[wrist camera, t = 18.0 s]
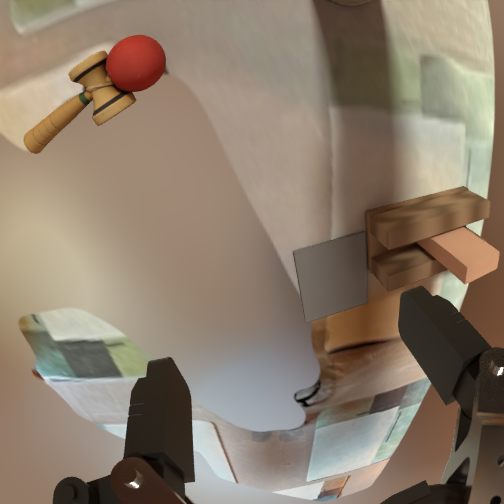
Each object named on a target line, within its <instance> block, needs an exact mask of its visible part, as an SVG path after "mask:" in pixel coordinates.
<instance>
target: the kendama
mask: <svg viewBox="0 0 504 504" xmlns="http://www.w3.org/2000/svg"><path fill="white" fill-rule="evenodd" d="M165 65H166V57H165V53H164V50H163V48H162V46H161V45H160V44H159V43H158V42H157V41H156V40H154V39H153V38H150V37H148V36H144V35H134V36H130V37H127V38H125V39H123V40H121V41H120V42H118V43H117V44H116V45H115V46H114V47H113V48H112V50H111V51H110V53H109V55H108V54H107V53H106V52H105V51H100V52H98V53H96V54H94V55H92V56H90V57H88V58H87V59H85V60H84V61H83V62H81V63H80V64H78V65H77V66H76V67H74V68H73V69H72V70H71V71H70V72H69V77H70V79H71V81H73V82H76V83H80V84H82V85H84V86H85V87H86V89H85V91H84V92H82V93H80V94H79V95H77V96H76V97H74V98H72V99H71V100H69V101H67V102H66V103H64V104H63V105H62V106H60V107H59V108H57V109H56V110H55V111H54V112H52V113H51V114H50V115H49V116H47V117H46V118H45V119H44V120H42V121H41V122H40V123H39V124H37V125H36V126H35V127H34V128H32V129H31V130H30V131H29V132H27V133H26V134H25V136H24V144H25V146H26V148H27V149H28V150H29V151H30V152H32V153H35V154H37V153H39V152H41V150H42V149H43V148H44V147H45V146H46V145H47V144H48V143H49V142H50V141H51V140H52V139H53V138H54V137H55V136H56V135H57V134H58V133H59V132H60V131H61V130H62V129H63V128H64V127H65V126H66V125H68V124H69V123H70V122H71V121H72V120H73V119H74V118H75V117H76V116H77V115H78V114H79V113H80V112H81V111H82V110H83V109H84V108H85V107H86V106H87V105H88V104H89V103H90V102H91V101H92V100H93V101H94V113H93V117H92V118H93V120H94V121H95V123H96V124H97V125H98V126H99V125H101V124H103V123H105V122H106V121H108V120H109V119H111V118H112V117H114V116H115V115H117V114H118V113H120V112H121V111H123V110H124V109H126V108H127V107H129V106H130V105H131V104H133V103H134V102H135V101H136V98H135V97H134V95H133V93H132V92H137V91H142V90H145V89H147V88H149V87H150V86H152V85H154V84H155V83H156V82H157V81H158V80H159V79H160V77H161V76H162V74H163V72H164V69H165Z"/></svg>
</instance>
